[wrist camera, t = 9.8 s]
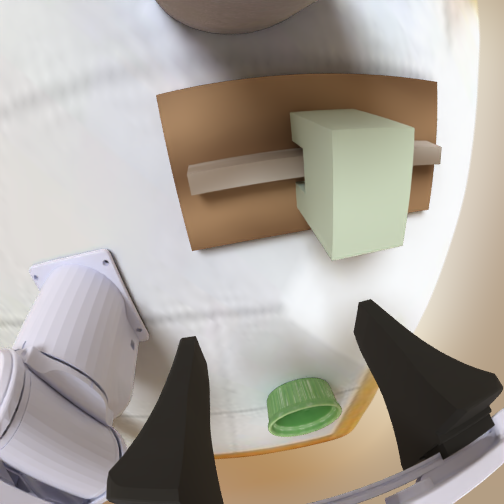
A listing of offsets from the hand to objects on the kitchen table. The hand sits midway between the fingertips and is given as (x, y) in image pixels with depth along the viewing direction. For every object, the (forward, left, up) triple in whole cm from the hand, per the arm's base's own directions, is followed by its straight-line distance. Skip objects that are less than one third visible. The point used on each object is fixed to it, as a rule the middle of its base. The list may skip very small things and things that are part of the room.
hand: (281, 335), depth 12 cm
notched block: (+5, -5, -8) cm, 11 cm away
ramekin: (-24, -3, -10) cm, 26 cm away
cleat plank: (+5, -5, -9) cm, 12 cm away
